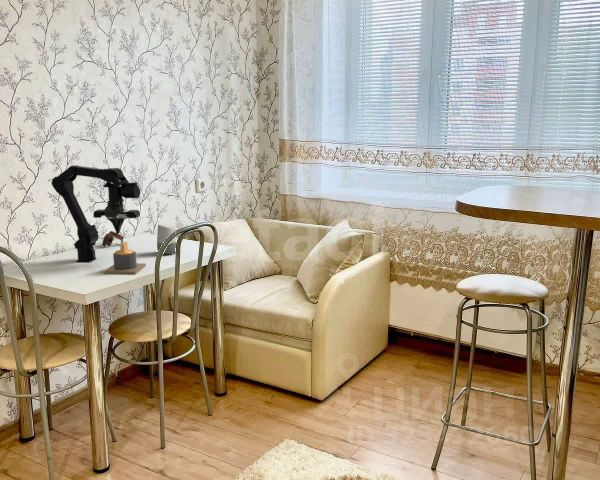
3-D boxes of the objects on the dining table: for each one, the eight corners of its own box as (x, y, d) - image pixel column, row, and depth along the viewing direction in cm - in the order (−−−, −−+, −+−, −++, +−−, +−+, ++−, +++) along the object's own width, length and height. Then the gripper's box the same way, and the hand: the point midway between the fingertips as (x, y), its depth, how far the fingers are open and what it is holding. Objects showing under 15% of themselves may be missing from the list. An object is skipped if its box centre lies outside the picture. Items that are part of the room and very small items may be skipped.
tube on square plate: (104, 273, 243) (103, 256, 242) (116, 265, 256) (115, 249, 254) (135, 274, 242) (134, 257, 241) (145, 266, 255) (145, 249, 253)
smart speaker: (180, 254, 276) (178, 224, 273) (160, 256, 272) (159, 226, 268) (174, 250, 284) (173, 221, 281) (155, 252, 280) (153, 223, 277)
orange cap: (112, 259, 245) (111, 244, 243) (119, 255, 252) (118, 241, 250) (130, 260, 244) (129, 245, 243) (136, 256, 251) (135, 241, 250)
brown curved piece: (103, 244, 298) (111, 229, 298) (120, 253, 298) (128, 238, 299) (96, 243, 286) (104, 228, 286) (113, 252, 286) (121, 237, 287)
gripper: (86, 200, 248) (89, 236, 251) (130, 200, 247) (132, 237, 250) (97, 196, 259) (100, 231, 262) (139, 196, 257) (141, 232, 261)
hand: (118, 233), depth 259 cm, fingers closed
